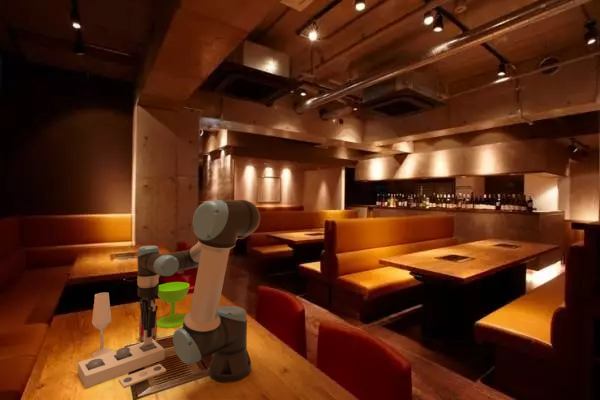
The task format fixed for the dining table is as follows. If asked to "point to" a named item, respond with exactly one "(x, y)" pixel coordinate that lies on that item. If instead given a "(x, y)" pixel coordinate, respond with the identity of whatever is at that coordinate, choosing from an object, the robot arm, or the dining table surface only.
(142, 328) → the soda can
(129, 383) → the pattern card
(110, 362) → the button board
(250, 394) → the dining table surface
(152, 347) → the right button
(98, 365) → the left button
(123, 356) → the middle button
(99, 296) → the champagne flute
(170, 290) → the wineglass
